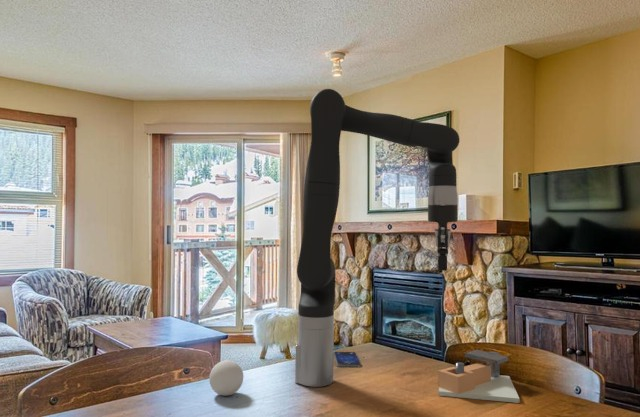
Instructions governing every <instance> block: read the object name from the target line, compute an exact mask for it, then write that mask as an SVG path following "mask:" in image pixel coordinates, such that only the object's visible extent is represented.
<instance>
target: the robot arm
mask: <svg viewBox="0 0 640 417" xmlns="http://www.w3.org/2000/svg"><path fill="white" fill-rule="evenodd" d="M309 114H310V125H311V126H310V136H311V137H310V147H309V150H308V151H309V153H308V157H307V161H306V168H305V174H304V176H305V177H304V184H303V186H304V187H303V199H302V200H303V202H302V203H303V205H302V237H301V244H300V245H301V246H300V250H299V251H300V252H299V257H298V262H297V267H296V275H297V278H298V282H300V296H299V302H298V310H297V311H298V313H297V314H298V316H297V317H298V321H297V322H298V323H297V329H298V330H297V332H298V333H297V334H298V335H297V337H298V338H297V341H298V342H297V344H296V345H295V364H294V365H295V374H294V375H295V376H294V379H295V380H294V381H295V384H300V385H303V386H306V387H312V388H313V387H314V388H316V387H317V388H318V387H319V388H320V387H325V386H329V385H331V384H333V383H334V355H333V353H334V343H335V342H334V341H335V340H334V337H335V336H334V328H335V327H334V325H335V324H334V323H335V322H334V319H335V318H334V315H335V314H334V313H335V301H336V266H335V263H334V261H333V259H332V256H331V255H332V254H331V251H332V250H331V249H332V248H331V247H332V246H331V244H332V243H331V242H332V232H333V228H334V225H335V221H336V216H337V211H338V205H339V198H340V190H341V188H340V186H341V161H340V160H341V159H340V158H341V157H340V140H341V134H342V132H349V133H354V134H360V135H363V136H369V137H372V138H377V139H380V140H383V141H387V142H391V143H394V144H398V145H401V146H405V147H412V148H414V147H415V148H416V147H421V148H425V149H426V157H427V164H428V170H429V172H428V192H427V220H428V222H429V223H437V228H438V229H437V228H435V229H434V236H435V247H437V251H436V252H437V253H436V254H437V256H438V258H437V259H438V261H437V263H438V264H437V266H438V268H437V269H438V271H445V272H446V271H447V270H448V256H449V249H448V248H449V247H450V245H451V244H450V238H451V233H452V231H451V229H448V223H457V221H458V219H459V218H458V215H459V214H458V212H459V211H458V191H457V190H458V189H457V168H456V166H455V165H454V164H453V162H454V161H453V152H454V151H455V150H456V149H457V148H458V146H459V145H460V135H459V133H458V132H457V130H456V129H454V128H453V127H452V126H448V125H445V124H441V123H440V124H439V123H434V122H426V121H424V122H423V121H419V120H415V119H412V118H408V117H404V116H401V115H396V114H391V113H382V112H371V111H366V110H362V109H357V108H354V107H351V106H348V105H347V104H346V102H345V101H344V98H343V97H342V95H341V94H340V93H339V92H338V91H336V90H334V89H331V88H325V89H322V90H319V91H318V92H317V93H316V94H315V95H314V96H313V97H312V99H311V101H310V103H309Z"/></svg>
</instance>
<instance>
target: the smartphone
mask: <svg viewBox="0 0 640 417" xmlns="http://www.w3.org/2000/svg"><path fill="white" fill-rule="evenodd" d="M333 354H334V355H333V359H334V362H335V365H336V367H337V368H359V367H358V366H362V363H361V360H360V359H359V356H358V354H357V352H355V351H333Z"/></svg>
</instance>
